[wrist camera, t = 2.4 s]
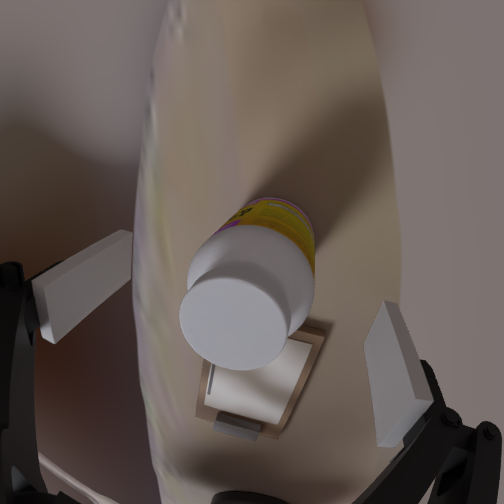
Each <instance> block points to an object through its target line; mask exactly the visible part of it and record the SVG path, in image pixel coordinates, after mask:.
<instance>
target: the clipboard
mask: <svg viewBox="0 0 504 504" xmlns="http://www.w3.org/2000/svg"><path fill="white" fill-rule="evenodd" d="M324 338H325V331H323V330H319V329H315V328H311V327H307V326H303V325H301V326H300V327H299V328H298V329H297V330H296V331H295V332H294V333H293V334H291V335H290V336H288V338H287V341H286V344H285V347H284V348H283V350H282V351H281V353H280V354H279V355H278V357H277V358H275V359H274V360H273V361H271V362H270V363H269V364H267V365H265V366H262V367H260V368H257V369H252V370H231V369H227V368H223V367H220V366H217V365H215V364H213V363H211V362H209V361H208V360H206V359H204V361H203V368H202V374H201V381H200V388H199V394H198V401H197V408H196V415H195V417H198V418H201V419H204V420H207V421H211V422H214V427H213V430H216V431H220V432H223V433H226V434H230V435H233V436H237V437H241V438H244V439H248V440H252V441H256V439H257V437H258V435H261V436H265V437H269V438H274V439H278V438H279V436H280V434H281V432H282V430H283V428H284V426H285V424H286V422H287V420H288V418H289V416H290V414H291V412H292V410H293V408H294V406H295V404H296V401H297V399H298V397H299V395H300V393H301V391H302V389H303V386H304V384H305V382H306V380H307V378H308V375H309V373H310V371H311V369H312V366H313V364H314V362H315V360H316V357H317V355H318V353H319V350H320V348H321V345H322V343H323V341H324Z"/></svg>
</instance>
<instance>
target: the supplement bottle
mask: <svg viewBox="0 0 504 504" xmlns="http://www.w3.org/2000/svg"><path fill="white" fill-rule="evenodd" d="M314 274H315V237H314V231H313V227H312V225H311V223H310V221H309V219H308V217H307V216H306V214H305V213H304V212H303V211H302V210H301V209H300V208H299V207H297V206H296V205H294V204H293V203H291V202H289V201H286V200H284V199H280V198H272V197H268V198H261V199H257V200H254V201H252V202H250V203H248V204H247V205H245V206H244V207H243V208H241V209H240V210H239V211H238V212H237V213H236V214H235V215H234V216H232V217H231V218H230V219H229V220H228V221H227V222H226V223H225V224H224V225H223V226H222V227H221V228H220V229H219V230H218V231H216V232H215V233H214V234H213V235H212V236H211V237H210V238H209V239H208V240H207V241H206V242H205V243H204V244H203V245H202V246H201V247H200V248H199V249H198V251H197V252H196V254H195V256H194V257H193V259H192V262H191V264H190V267H189V271H188V279H187V287H188V292H187V293H186V295H185V297H184V298H183V300H182V303H181V307H180V325H181V329H182V332H183V334H184V336H185V338H186V340H187V341H188V343H189V344H190V345H191V347H192V348H193V349H194V350H195V351H196V352H197V353H198V354H199V355H200V356H202V357H203V358H204V359H206V360H208V361H209V362H211V363H213V364H215V365H217V366H220V367H223V368H227V369H231V370H252V369H257V368H260V367H262V366H265V365H267V364H269V363H270V362H271V361H273V360H274V359H275V358H277V357H278V355H279V354H280V353H281V351H282V350H283V348H284V347H285V344H286V341H287V338H288V336H290V335H291V334H293V333H294V332H295V331H296V330H297V329H298V328H299V327H300V326H301V325H302V324H303V322H304V321H305V319H306V318H307V316H308V314H309V312H310V310H311V307H312V303H313V298H314Z"/></svg>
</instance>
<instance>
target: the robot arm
mask: <svg viewBox="0 0 504 504" xmlns="http://www.w3.org/2000/svg"><path fill="white" fill-rule="evenodd" d="M131 252H132V233H131V232H128V231H124V230H119V231H117V232H115V233H113V234H111V235H110V236H108V237H106V238H104V239H102V240H100V241H99V242H97V243H95V244H93V245H91V246H89V247H88V248H86V249H84V250H82V251H81V252H79V253H77V254H75V255H74V256H72V257H70V258H69V259H67V260H63V261H59V262H56V263H55V264H53V265H51V266H50V267H49V268H46V269H44V270H43V271H41V272H40V273H38V274H36V275H34V276H33V277H31V278H30V279H28V280H26V281H25V279H24V272H23V266H22V264H21V263H19V262H14V261H10V262H5V263H2V264H0V504H81V503H79V502H77V501H76V500H74V499H72V498H71V497H69V496H68V495H66V494H64V493H63V492H61V491H60V492H59V493H58V495H53V494H50V493H48V491H47V488H46V485H45V483H44V480H43V478H42V475H41V473H40V467H39V459H38V451H37V441H36V429H35V410H34V364H35V363H34V362H35V346H36V334H35V330H36V329H37V328H38V327H39V326H40V328H41V332H42V337H43V338H45V339H47V340H48V341H50V342H52V343H53V344H56V343H57V342H58V341H59V340H60V339H61V338H62V337H63V336H64V335H65V334H67V333H68V332H69V331H70V330H71V329H72V328H73V327H75V326H76V325H77V324H78V323H79V322H80V321H81V320H82V319H84V318H85V317H86V316H87V315H88V314H89V313H91V312H92V311H93V310H94V309H95V308H96V307H97V306H99V305H100V304H101V303H102V302H103V301H104V300H106V299H107V298H108V297H109V296H110V295H112V294H113V293H114V292H115V291H116V290H118V289H119V288H120V287H121V286H122V285H124V284H125V283H126V282H127V281H128V280H130V279H131ZM363 346H364V351H365V357H366V363H367V369H368V376H369V382H370V389H371V396H372V404H373V412H374V420H375V429H376V438H377V446H378V447H392V448H395V447H396V446H397V445H398V443H399V442H400V441H401V440H402V439H403V443H404V448H403V449H402V450H401V451H400V452H399V453H398V454H397V455H396V456H395V457H394V458H393V459H392V460H391V461H390V462H391V463H390V464H389V465H388V466H387V467H386V468H385V470H384V471H383V472H382V473H381V474H380V475H379V476H378V477H377V478H376V480H375V481H374V482H373V483H372V484H371V485H370V486H369V487H368V488H367V489H366V490H365V491H364V492H363V493H362V494H361V495H360V496H359V497H358V498H357V499H356V500H355V501H354V502H353V503H352V504H418V503H419V502H420V500H421V499H422V497H423V496H424V494H425V493H426V491H427V490H428V488H429V486H430V485H431V483H432V482H433V480H434V479H435V477H436V479H435V482H434V485H433V488H432V491H431V495H430V498H429V501H428V503H427V504H496V503H497V496H498V489H499V480H500V468H501V452H502V436H501V432H500V430H499V429H498V427H497V426H496V425H495V424H493V423H491V422H488V421H484V422H481V423H480V424H479V425H478V426H477V428H476V429H474V428H471V427H468V426H465V425H463V423H462V419H461V417H460V416H459V414H458V413H457V412H456V411H454V410H453V409H451V408H449V407H446V404H445V401H444V399H443V396H442V393H441V391H440V387H439V386H438V382H437V379H435V374H434V372H433V369H432V368H431V366H430V365H429V364H428V363H427V362H426V360H420V359H419V357H418V354H417V352H416V349H415V347H414V344H413V341H412V339H411V336H410V334H409V331H408V329H407V326H406V324H405V322H404V319H403V317H402V315H401V312H400V310H399V307H398V305H397V304H396V303H392V302H388V301H384V300H383V303H382V305H381V307H380V309H379V312H378V314H377V316H376V318H375V320H374V323H373V325H372V327H371V329H370V331H369V333H368V335H367V337H366V340H365V342H364V344H363ZM211 504H287V503H285V502H283V501H281V500H278V499H276V498H272V497H269V496H264V495H260V494H254V493H246V492H223V493H219V494H216V495H214V496H213V498H212V501H211Z"/></svg>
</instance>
